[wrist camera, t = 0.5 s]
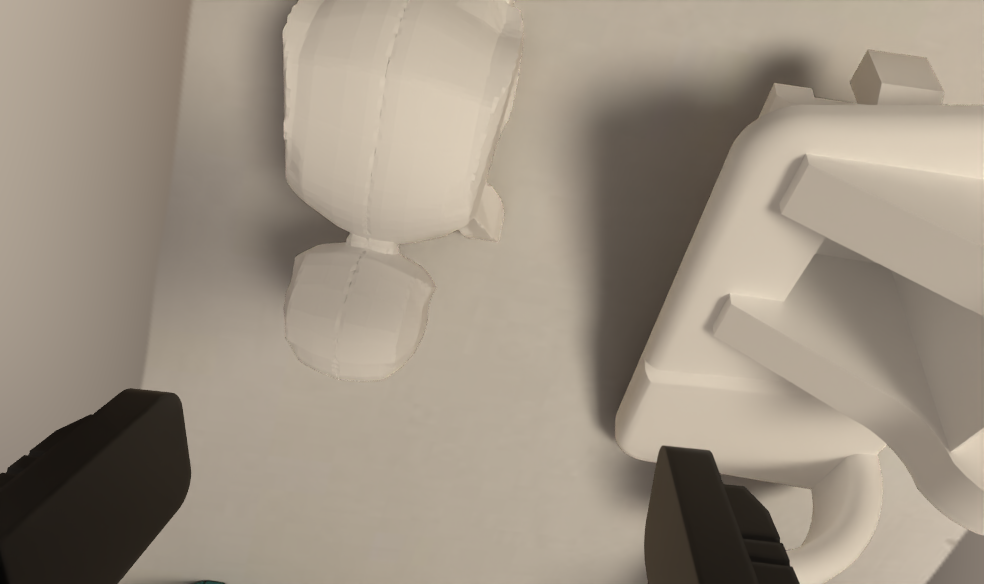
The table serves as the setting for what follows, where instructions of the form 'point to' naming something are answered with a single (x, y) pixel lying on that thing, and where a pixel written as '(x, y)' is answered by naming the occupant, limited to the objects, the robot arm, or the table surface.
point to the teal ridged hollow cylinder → (208, 582)
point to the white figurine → (389, 161)
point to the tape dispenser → (833, 309)
